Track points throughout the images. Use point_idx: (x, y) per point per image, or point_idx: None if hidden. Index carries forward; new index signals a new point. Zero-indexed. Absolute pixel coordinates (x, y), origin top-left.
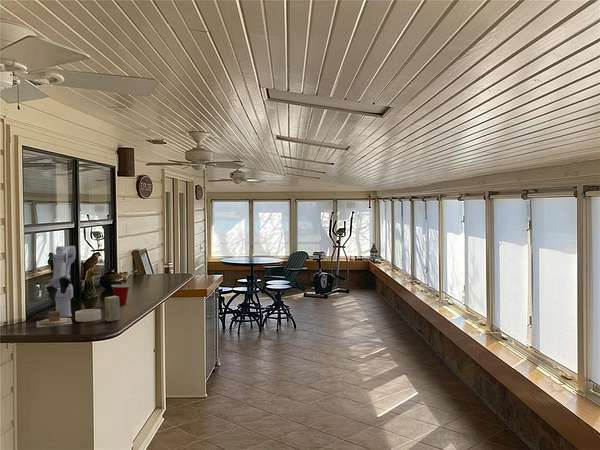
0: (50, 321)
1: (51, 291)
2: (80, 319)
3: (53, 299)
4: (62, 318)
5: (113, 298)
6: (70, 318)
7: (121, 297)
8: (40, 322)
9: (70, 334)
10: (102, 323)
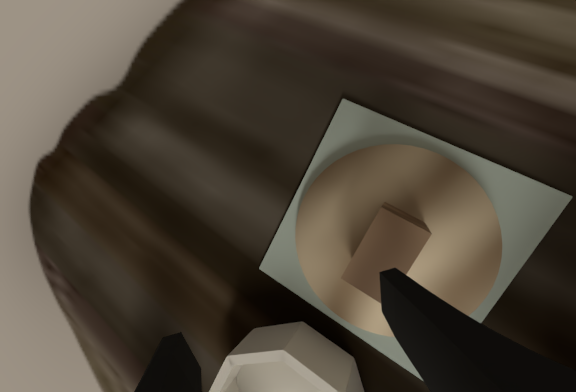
0: (379, 209)
1: (473, 390)
2: (268, 332)
3: (385, 300)
4: None
5: None
6: (420, 376)
7: None
8: (411, 153)
9: (100, 135)
10: None
